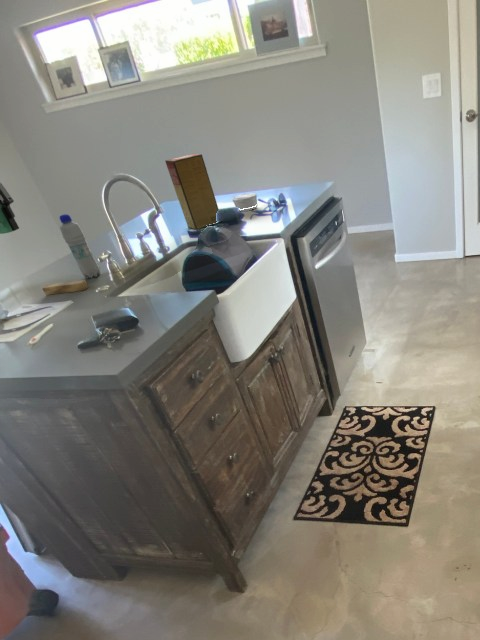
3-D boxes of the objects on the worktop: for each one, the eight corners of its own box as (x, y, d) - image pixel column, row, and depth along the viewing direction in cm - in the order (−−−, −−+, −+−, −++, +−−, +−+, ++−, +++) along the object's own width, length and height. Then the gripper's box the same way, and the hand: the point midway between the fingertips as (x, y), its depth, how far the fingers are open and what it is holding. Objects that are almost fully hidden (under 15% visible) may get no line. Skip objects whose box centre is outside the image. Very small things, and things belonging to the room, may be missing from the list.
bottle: (99, 277, 184) (70, 215, 170) (81, 280, 184) (50, 218, 170) (104, 271, 189) (76, 210, 175) (86, 275, 189) (56, 213, 175)
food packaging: (213, 219, 232) (193, 153, 216) (223, 221, 227) (203, 153, 210) (186, 227, 227) (163, 160, 210) (196, 230, 221) (173, 160, 204)
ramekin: (237, 214, 235) (233, 200, 232) (234, 209, 243) (230, 196, 240) (261, 208, 237) (257, 195, 233) (257, 204, 245) (254, 192, 241)
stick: (46, 295, 176) (42, 288, 174) (50, 292, 178) (46, 285, 176) (84, 290, 174) (81, 283, 173) (88, 287, 177) (85, 279, 175)
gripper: (-3, 141, 155) (39, 224, 170) (-69, 151, 157) (-22, 232, 172) (-18, 144, 150) (27, 230, 165) (-86, 155, 151) (-35, 238, 166)
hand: (2, 231), depth 168 cm, fingers closed on mug, 9 cm apart
